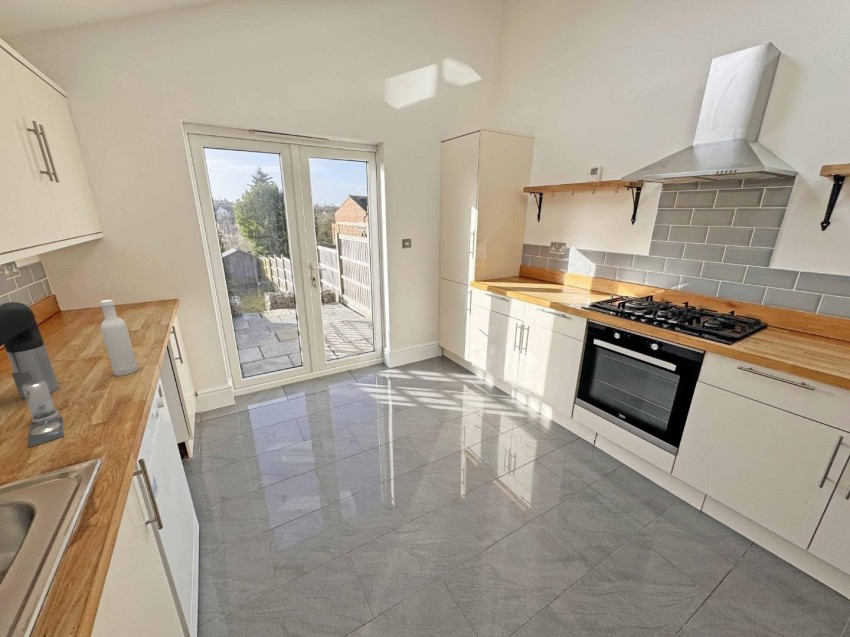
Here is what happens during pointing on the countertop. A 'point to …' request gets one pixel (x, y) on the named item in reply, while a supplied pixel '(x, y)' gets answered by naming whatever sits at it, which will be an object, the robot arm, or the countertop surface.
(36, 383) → the flanged metal cylinder
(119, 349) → the bottle
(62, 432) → the base plate
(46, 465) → the countertop surface
